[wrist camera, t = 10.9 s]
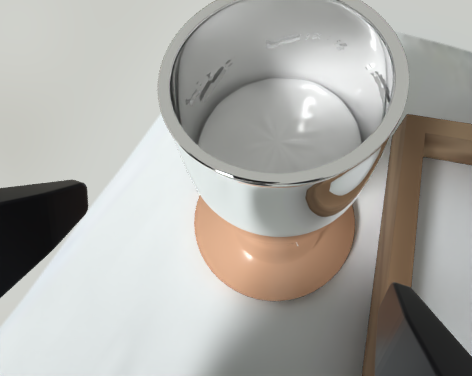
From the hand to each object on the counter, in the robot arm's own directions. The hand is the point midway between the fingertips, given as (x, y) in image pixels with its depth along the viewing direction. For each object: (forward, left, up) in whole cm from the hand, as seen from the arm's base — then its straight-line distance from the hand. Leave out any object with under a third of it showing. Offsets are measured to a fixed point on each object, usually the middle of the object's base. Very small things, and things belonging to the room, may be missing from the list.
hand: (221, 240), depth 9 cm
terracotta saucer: (-1, +4, -14) cm, 14 cm away
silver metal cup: (-1, +4, -13) cm, 14 cm away
